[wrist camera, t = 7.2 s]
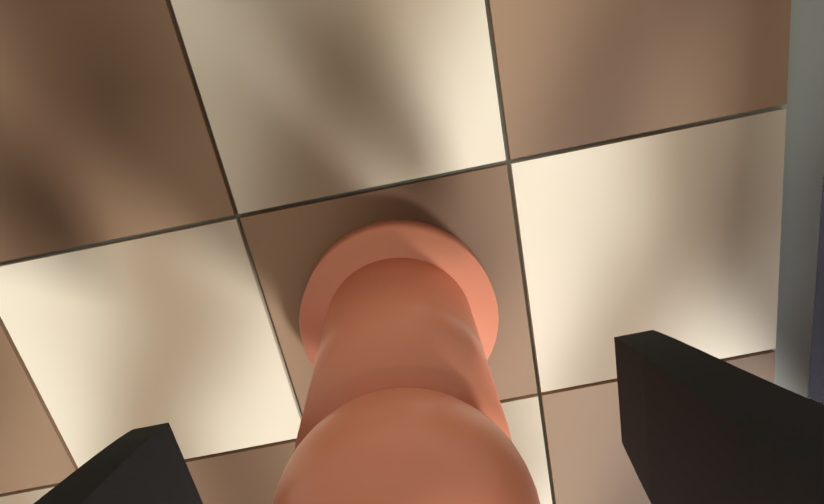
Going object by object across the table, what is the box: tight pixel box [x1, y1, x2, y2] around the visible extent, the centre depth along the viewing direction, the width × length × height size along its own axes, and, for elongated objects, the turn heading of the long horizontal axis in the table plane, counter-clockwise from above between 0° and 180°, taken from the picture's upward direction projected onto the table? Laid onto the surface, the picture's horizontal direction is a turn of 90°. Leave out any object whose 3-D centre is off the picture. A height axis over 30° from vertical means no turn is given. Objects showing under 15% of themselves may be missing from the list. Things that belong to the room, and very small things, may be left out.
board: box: [0, 0, 824, 504], centre depth 13 cm, size 26×20×1 cm
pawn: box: [272, 220, 540, 504], centre depth 9 cm, size 4×4×8 cm
